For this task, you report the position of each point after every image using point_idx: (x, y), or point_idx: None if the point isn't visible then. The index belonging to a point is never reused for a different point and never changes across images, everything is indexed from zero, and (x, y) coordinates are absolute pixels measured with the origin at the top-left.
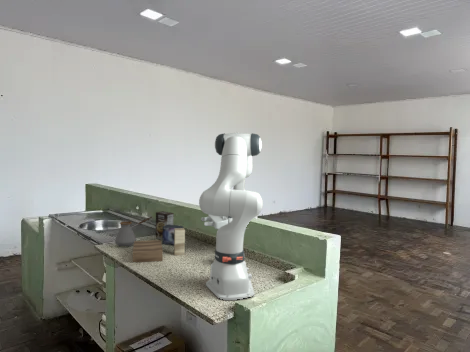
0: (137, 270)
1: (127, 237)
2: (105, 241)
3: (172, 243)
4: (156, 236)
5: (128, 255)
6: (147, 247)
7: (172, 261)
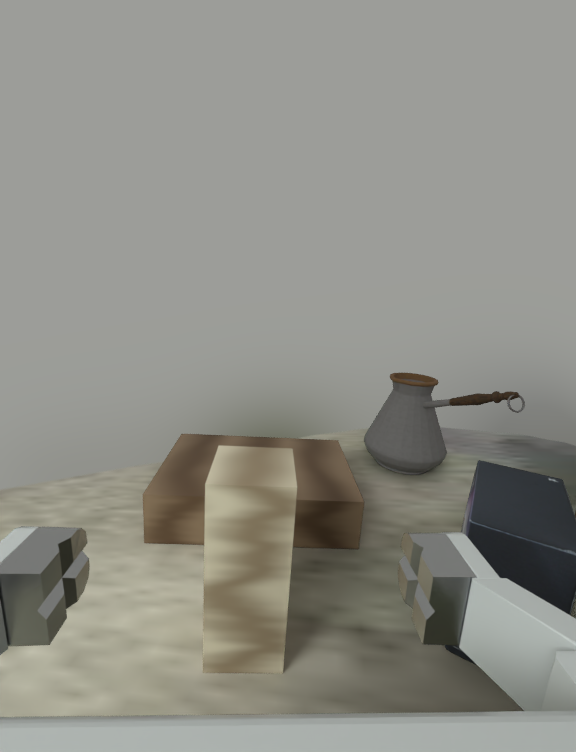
0: (86, 476)
1: (377, 428)
2: None
3: None
4: None
5: None
6: None
7: (105, 583)
